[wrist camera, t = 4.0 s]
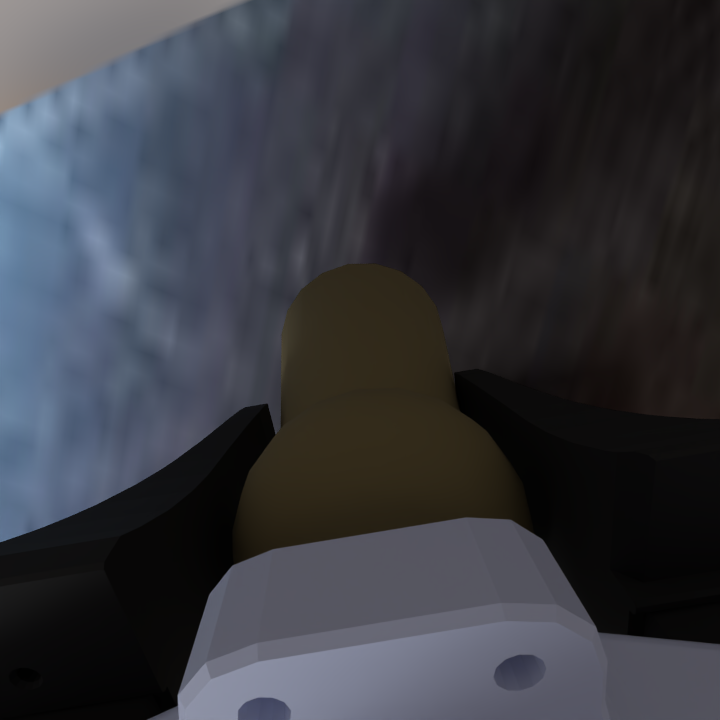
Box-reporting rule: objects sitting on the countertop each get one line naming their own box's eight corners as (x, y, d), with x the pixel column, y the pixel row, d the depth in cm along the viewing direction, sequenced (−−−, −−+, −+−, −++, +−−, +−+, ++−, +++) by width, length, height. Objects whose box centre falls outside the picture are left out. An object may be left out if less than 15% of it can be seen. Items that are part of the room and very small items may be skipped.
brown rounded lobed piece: (399, 230, 15) (517, 361, 5) (467, 372, 17) (646, 668, 7) (249, 313, 16) (80, 567, 6) (332, 436, 18) (315, 778, 8)
